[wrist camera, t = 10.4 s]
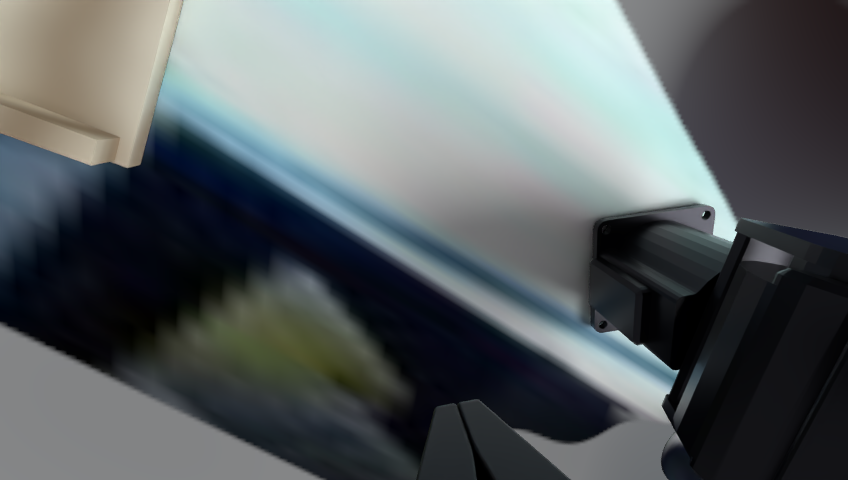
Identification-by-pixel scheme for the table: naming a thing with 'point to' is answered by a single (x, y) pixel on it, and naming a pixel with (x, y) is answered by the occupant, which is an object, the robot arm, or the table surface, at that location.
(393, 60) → the table surface
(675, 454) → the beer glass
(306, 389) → the table surface
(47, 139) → the birch rail
